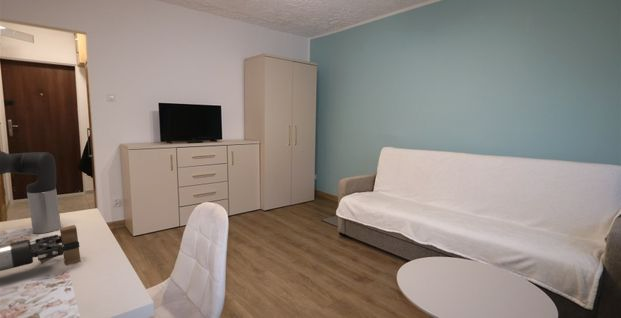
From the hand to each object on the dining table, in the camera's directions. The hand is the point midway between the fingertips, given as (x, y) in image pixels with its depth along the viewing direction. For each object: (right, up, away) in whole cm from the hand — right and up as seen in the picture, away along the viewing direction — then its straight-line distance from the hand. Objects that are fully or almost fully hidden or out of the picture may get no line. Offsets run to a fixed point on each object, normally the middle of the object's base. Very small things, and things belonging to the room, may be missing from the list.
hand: (77, 240), depth 105 cm
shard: (-12, -7, +5) cm, 15 cm away
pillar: (-1, -7, 0) cm, 7 cm away
